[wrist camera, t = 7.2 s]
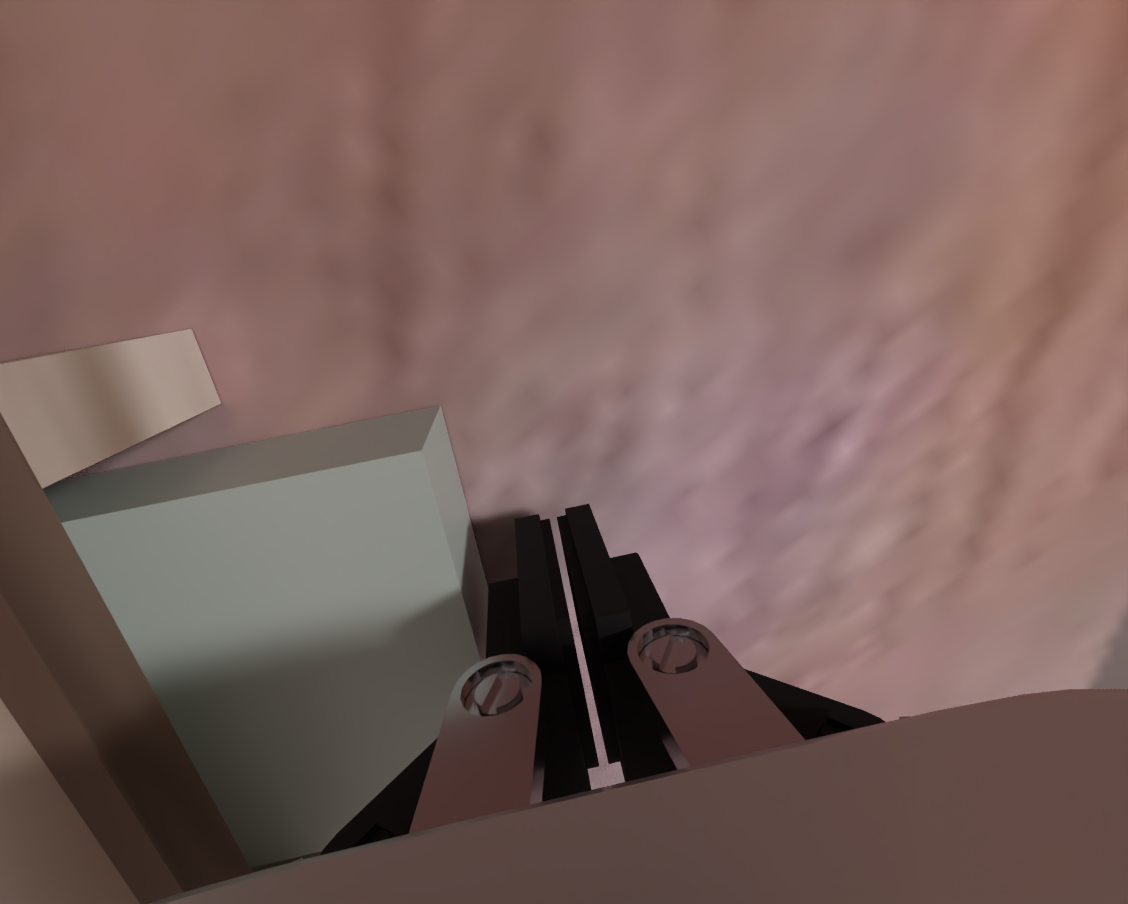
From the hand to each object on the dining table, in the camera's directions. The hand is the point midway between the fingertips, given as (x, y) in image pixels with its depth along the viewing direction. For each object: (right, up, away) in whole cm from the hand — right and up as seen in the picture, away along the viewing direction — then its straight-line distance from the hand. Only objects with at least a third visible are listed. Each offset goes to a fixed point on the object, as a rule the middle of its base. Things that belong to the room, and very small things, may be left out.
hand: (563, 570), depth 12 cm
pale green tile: (-8, -1, +1) cm, 8 cm away
